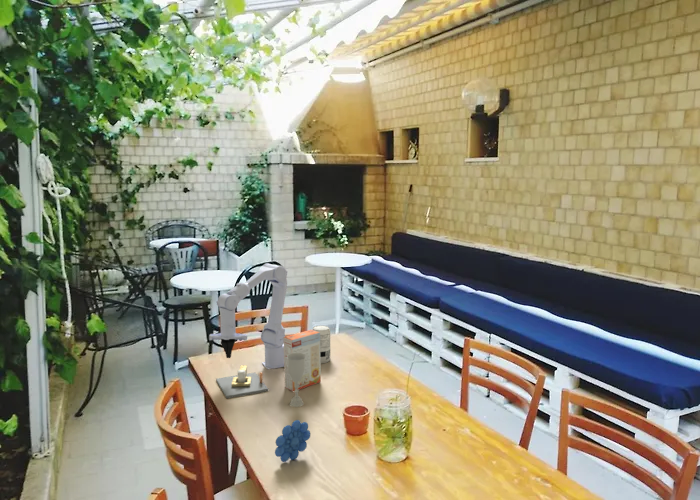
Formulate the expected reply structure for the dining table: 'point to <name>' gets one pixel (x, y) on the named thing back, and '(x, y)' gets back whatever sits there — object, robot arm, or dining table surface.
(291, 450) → the grapes
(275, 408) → the dining table surface
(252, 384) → the post board
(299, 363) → the chalice
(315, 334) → the cracker box
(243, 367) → the yellow frame with handle
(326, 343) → the supplement can
